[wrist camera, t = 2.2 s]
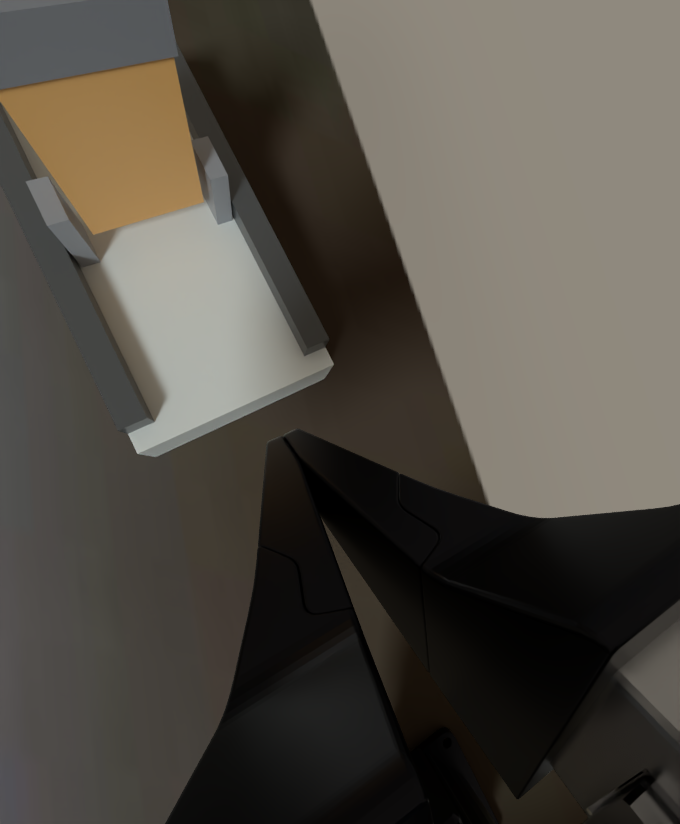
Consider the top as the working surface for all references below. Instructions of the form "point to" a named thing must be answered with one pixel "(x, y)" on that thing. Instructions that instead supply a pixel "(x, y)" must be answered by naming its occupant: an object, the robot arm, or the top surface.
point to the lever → (101, 104)
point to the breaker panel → (173, 293)
